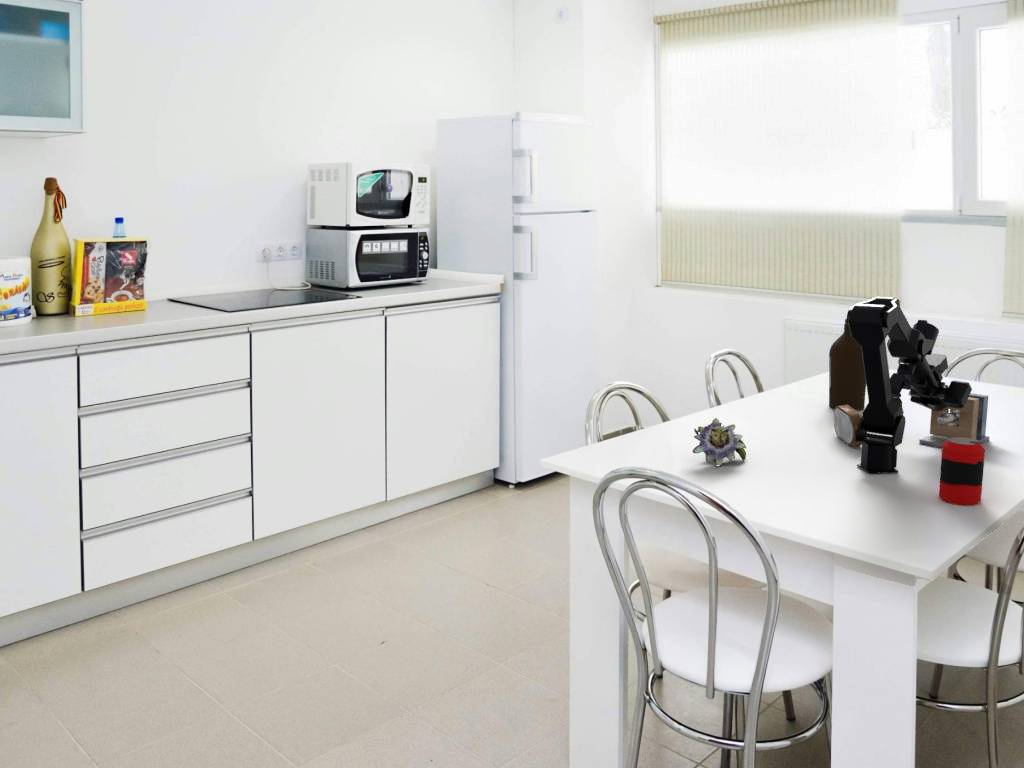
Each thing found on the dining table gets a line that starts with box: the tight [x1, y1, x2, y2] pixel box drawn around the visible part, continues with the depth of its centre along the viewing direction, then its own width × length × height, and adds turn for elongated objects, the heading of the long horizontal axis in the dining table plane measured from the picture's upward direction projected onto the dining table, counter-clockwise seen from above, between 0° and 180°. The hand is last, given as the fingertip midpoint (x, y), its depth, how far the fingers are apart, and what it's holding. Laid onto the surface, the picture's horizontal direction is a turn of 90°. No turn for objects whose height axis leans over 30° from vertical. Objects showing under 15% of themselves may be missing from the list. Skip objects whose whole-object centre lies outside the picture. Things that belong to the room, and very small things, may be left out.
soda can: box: [938, 437, 986, 506], centre depth 186 cm, size 8×8×12 cm
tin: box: [833, 405, 862, 447], centre depth 231 cm, size 15×3×8 cm, turn 179°
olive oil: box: [828, 318, 867, 411], centre depth 266 cm, size 11×11×25 cm
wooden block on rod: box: [929, 397, 979, 439], centre depth 228 cm, size 2×10×10 cm, turn 39°
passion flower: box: [692, 417, 747, 466], centre depth 217 cm, size 11×11×12 cm
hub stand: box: [918, 392, 991, 449], centre depth 229 cm, size 14×10×11 cm
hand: (937, 410), depth 229 cm, fingers closed, pressing on wooden block on rod
